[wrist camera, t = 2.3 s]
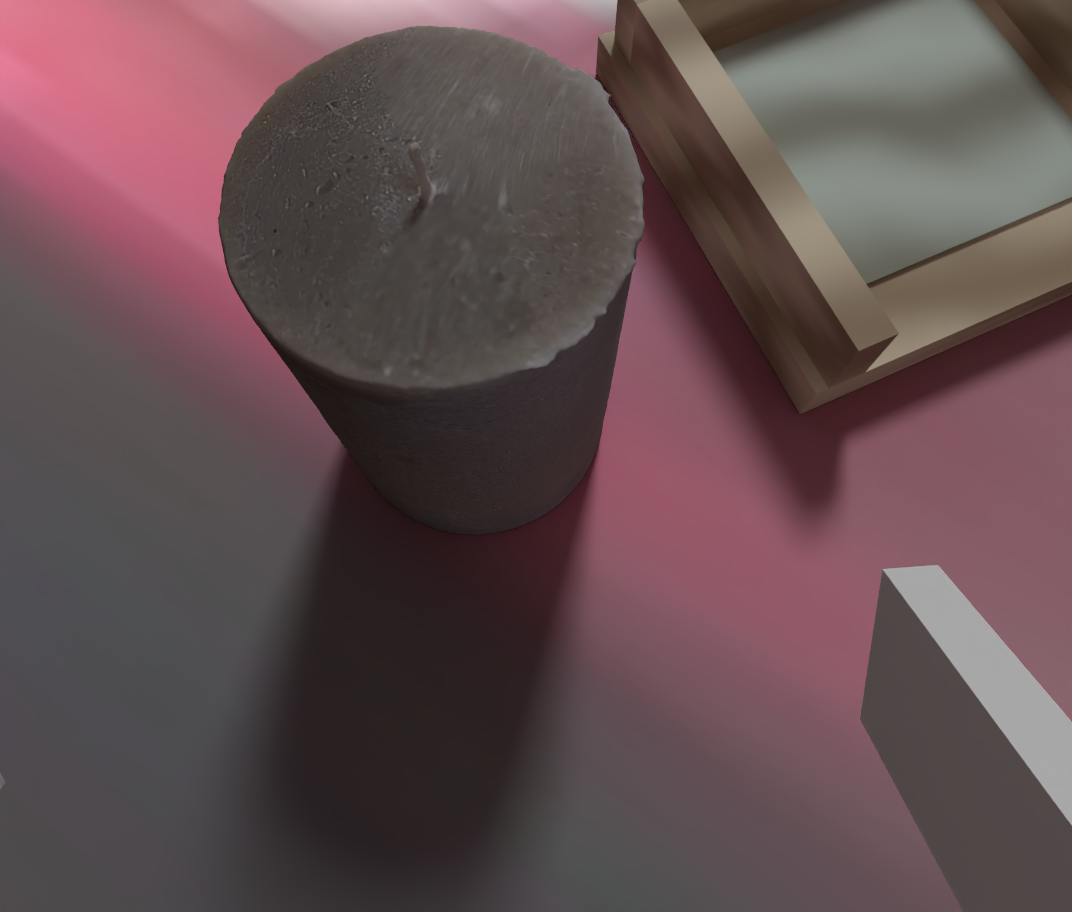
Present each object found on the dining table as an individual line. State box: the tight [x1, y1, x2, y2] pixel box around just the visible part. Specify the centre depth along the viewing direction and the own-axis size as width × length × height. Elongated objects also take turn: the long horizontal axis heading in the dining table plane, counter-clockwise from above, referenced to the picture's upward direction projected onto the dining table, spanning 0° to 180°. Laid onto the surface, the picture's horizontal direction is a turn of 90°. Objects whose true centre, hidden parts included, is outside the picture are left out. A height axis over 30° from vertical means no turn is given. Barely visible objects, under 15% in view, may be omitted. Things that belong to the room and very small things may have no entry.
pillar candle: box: [218, 26, 645, 535], centre depth 24 cm, size 10×10×15 cm
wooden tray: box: [596, 0, 1072, 414], centre depth 32 cm, size 18×18×5 cm
